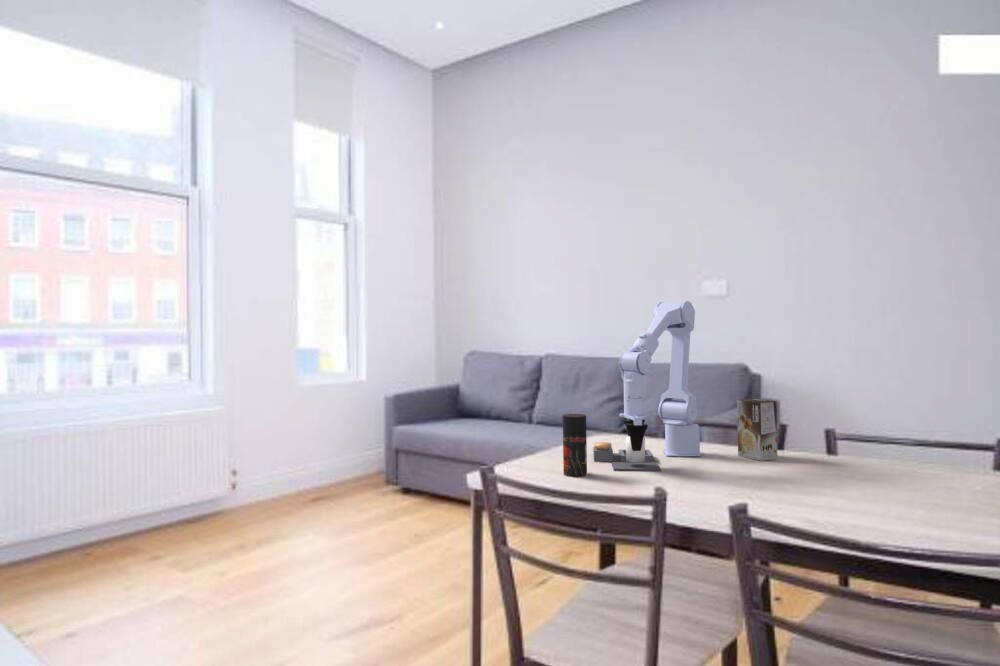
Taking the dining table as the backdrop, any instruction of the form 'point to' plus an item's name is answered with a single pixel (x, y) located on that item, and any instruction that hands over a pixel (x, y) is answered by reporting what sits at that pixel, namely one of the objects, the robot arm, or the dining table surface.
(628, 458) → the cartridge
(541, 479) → the dining table surface
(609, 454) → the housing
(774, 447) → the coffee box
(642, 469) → the mat
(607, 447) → the plunger
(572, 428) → the deodorant
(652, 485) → the dining table surface
